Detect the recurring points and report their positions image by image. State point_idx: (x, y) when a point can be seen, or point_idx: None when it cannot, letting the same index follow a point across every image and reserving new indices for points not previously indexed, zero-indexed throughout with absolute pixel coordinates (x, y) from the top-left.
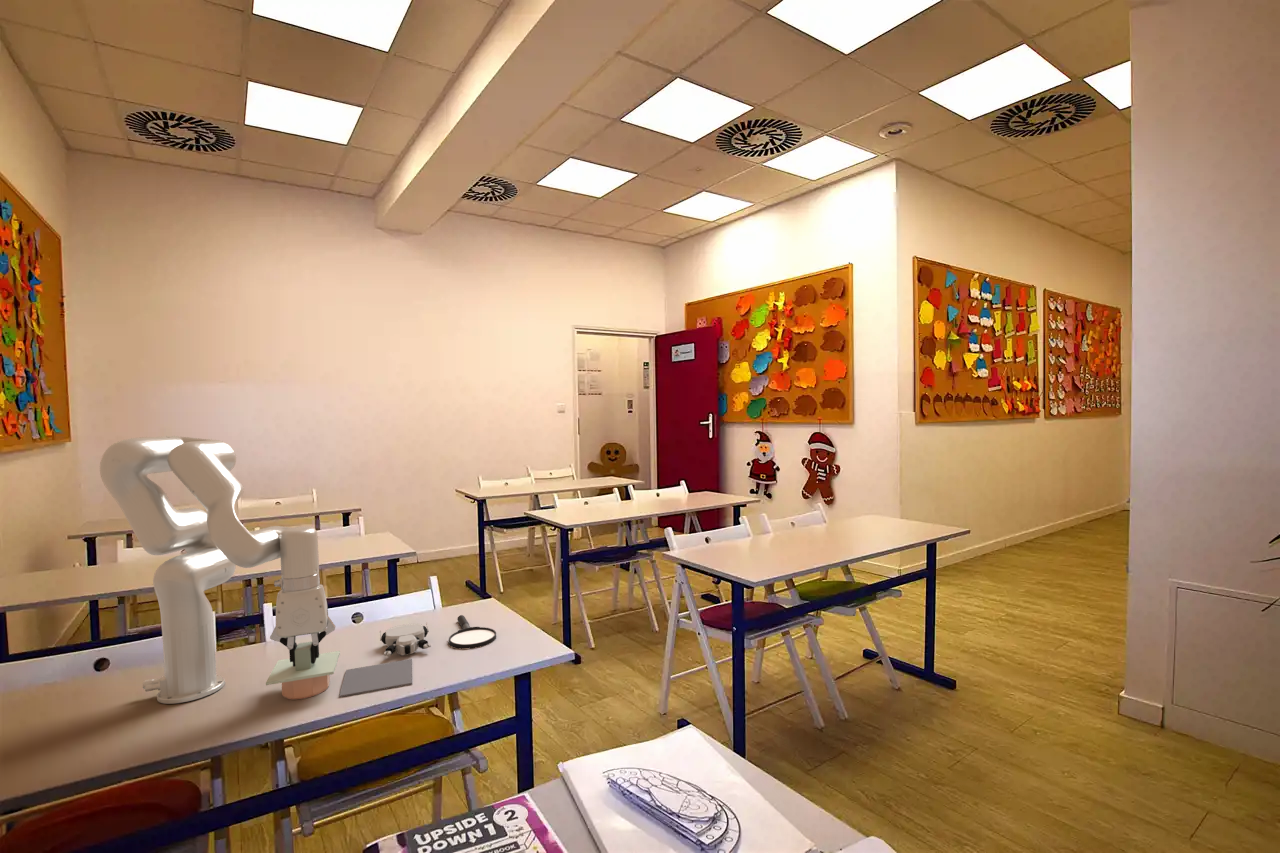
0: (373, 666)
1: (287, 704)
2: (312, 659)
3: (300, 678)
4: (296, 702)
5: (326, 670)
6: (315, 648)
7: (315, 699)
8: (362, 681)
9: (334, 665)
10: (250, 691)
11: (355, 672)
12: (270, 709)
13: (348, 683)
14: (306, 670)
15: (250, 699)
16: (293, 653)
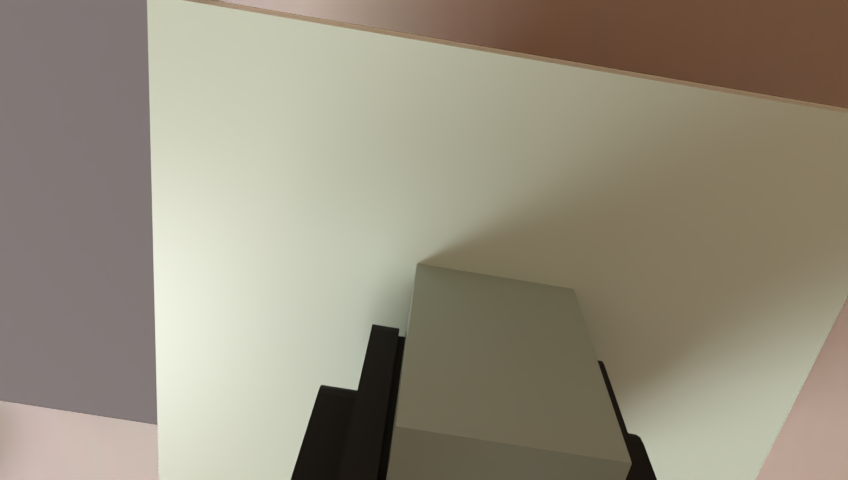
0: (4, 381)
1: (622, 58)
2: (386, 350)
3: (540, 58)
4: (553, 56)
5: (238, 88)
6: (324, 477)
7: (405, 21)
8: (37, 137)
9: (162, 204)
10: (804, 458)
11: (122, 349)
12: (757, 36)
13: (149, 165)
14: (463, 235)
15: (837, 330)
16: (628, 474)
